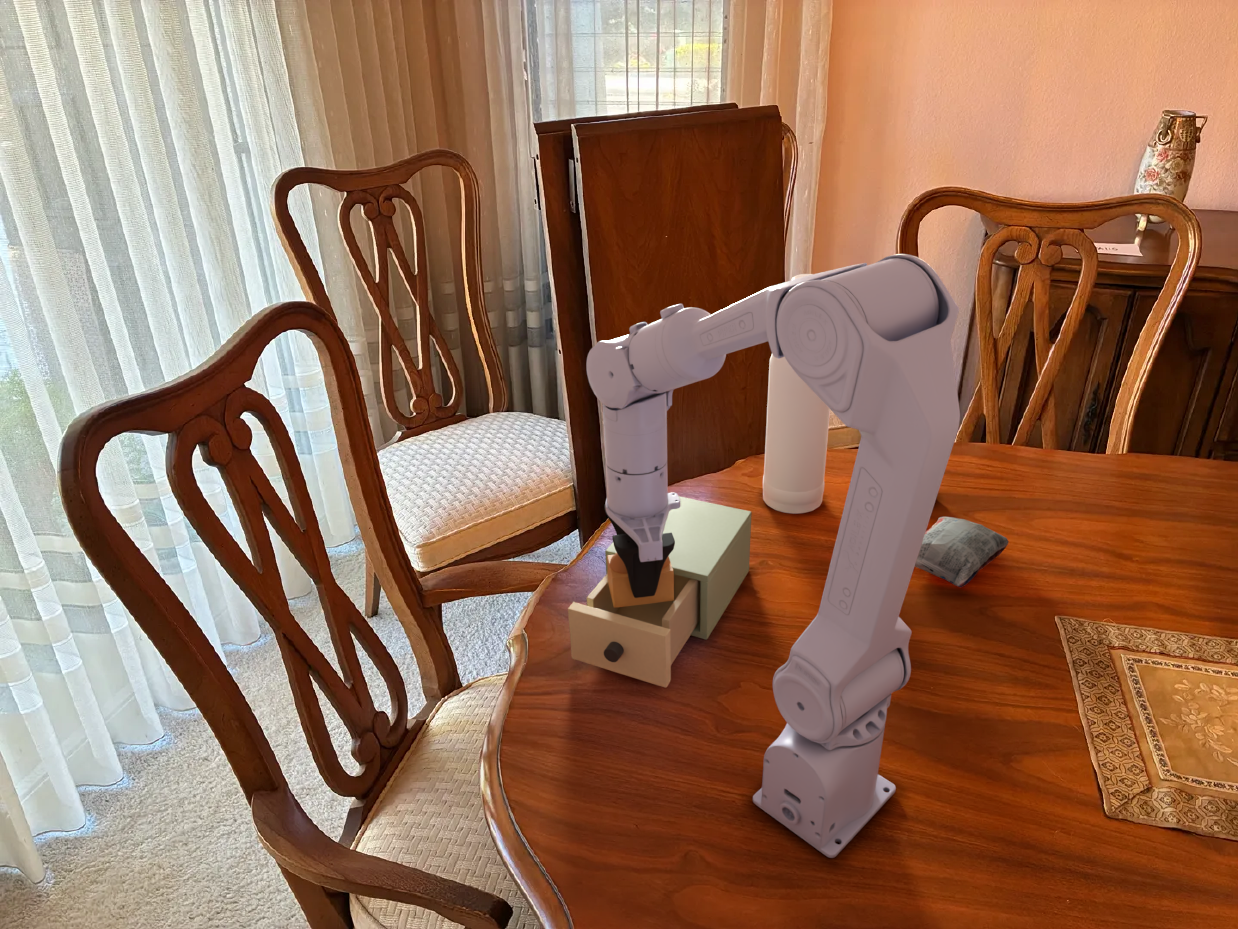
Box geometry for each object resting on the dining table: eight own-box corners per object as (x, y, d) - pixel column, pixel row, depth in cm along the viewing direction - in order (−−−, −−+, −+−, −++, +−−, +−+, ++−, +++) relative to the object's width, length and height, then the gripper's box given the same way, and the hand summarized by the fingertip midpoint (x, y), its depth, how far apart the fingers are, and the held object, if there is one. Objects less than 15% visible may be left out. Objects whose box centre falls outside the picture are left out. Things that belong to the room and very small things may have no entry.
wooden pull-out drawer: (661, 696, 81) (660, 644, 78) (565, 666, 85) (561, 615, 82) (712, 613, 92) (713, 565, 89) (625, 590, 96) (624, 543, 93)
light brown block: (666, 577, 88) (665, 536, 86) (673, 601, 84) (673, 558, 82) (608, 584, 87) (606, 543, 85) (613, 608, 84) (611, 566, 81)
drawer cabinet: (706, 640, 89) (707, 576, 86) (608, 612, 94) (604, 550, 90) (749, 570, 100) (751, 511, 96) (658, 548, 105) (657, 491, 101)
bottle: (751, 503, 113) (760, 281, 99) (778, 479, 119) (791, 265, 105) (806, 521, 109) (825, 291, 95) (832, 495, 115) (853, 273, 100)
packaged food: (888, 571, 99) (894, 535, 97) (940, 530, 106) (946, 496, 104) (959, 604, 93) (967, 567, 91) (1009, 559, 100) (1017, 523, 98)
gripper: (696, 494, 73) (695, 621, 79) (664, 423, 86) (665, 537, 92) (614, 503, 72) (620, 630, 78) (593, 429, 85) (600, 545, 91)
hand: (640, 581), depth 85 cm, fingers closed on light brown block, 4 cm apart
